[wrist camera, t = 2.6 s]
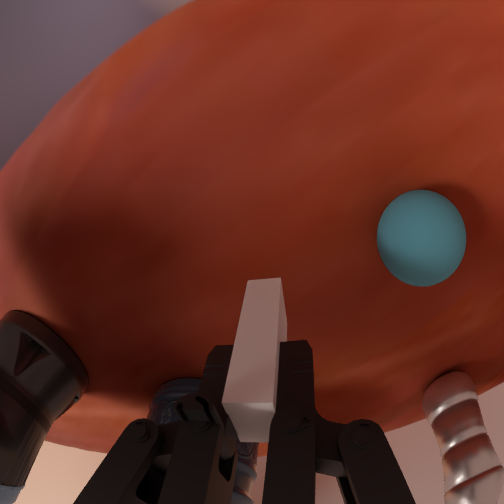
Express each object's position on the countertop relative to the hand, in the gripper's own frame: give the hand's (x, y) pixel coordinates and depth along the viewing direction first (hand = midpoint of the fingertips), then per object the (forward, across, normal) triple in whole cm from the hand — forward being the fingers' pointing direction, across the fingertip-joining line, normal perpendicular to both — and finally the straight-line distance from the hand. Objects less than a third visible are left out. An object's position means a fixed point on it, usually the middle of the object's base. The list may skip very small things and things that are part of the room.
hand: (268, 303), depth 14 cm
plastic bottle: (+8, +17, -21) cm, 28 cm away
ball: (+5, +10, 0) cm, 11 cm away
